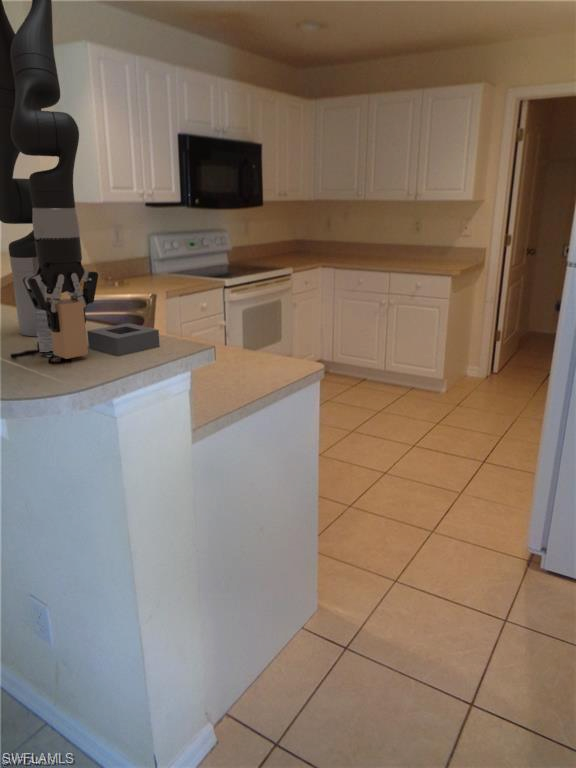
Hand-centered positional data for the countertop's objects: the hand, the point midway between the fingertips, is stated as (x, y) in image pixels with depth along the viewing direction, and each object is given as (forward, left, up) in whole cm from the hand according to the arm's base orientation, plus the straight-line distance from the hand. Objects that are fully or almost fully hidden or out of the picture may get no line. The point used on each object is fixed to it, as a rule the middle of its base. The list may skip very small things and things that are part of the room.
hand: (67, 329), depth 105 cm
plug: (0, 0, -5) cm, 5 cm away
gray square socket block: (0, +12, -6) cm, 14 cm away
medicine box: (-9, +3, -7) cm, 12 cm away
